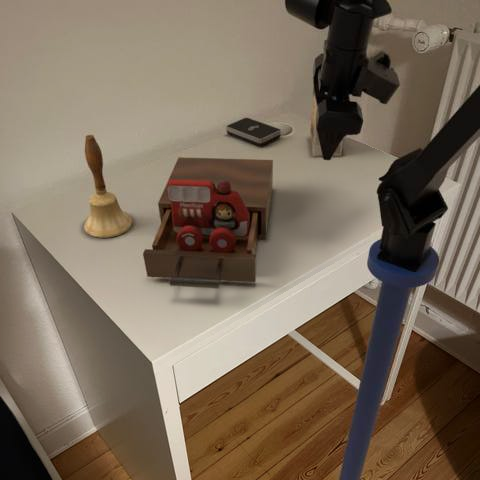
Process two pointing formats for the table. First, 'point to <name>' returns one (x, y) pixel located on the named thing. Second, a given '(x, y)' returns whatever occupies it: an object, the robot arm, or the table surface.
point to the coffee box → (314, 135)
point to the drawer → (201, 258)
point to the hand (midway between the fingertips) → (325, 143)
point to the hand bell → (103, 199)
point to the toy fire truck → (207, 214)
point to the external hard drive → (253, 131)
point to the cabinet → (237, 174)
